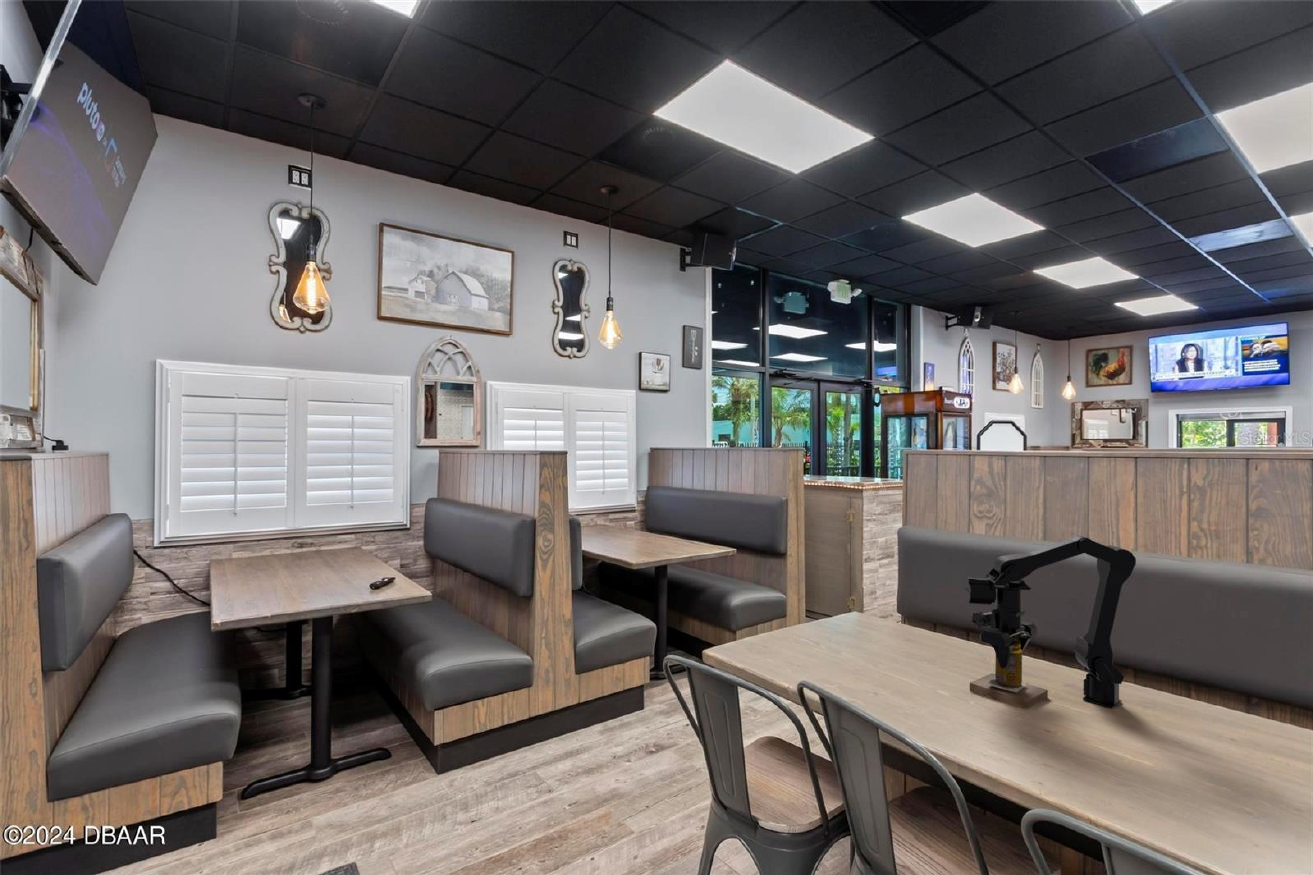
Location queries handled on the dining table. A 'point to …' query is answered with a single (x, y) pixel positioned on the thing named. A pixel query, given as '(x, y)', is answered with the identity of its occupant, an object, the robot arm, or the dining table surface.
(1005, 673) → the condiment
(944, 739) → the dining table surface
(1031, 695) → the stand
